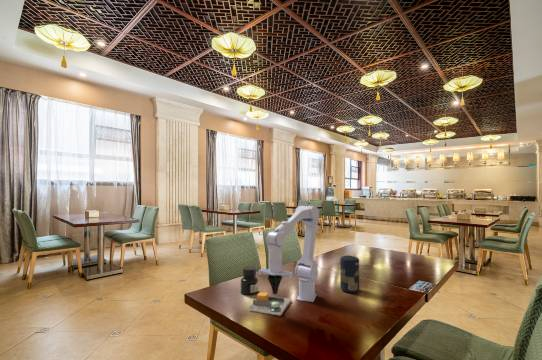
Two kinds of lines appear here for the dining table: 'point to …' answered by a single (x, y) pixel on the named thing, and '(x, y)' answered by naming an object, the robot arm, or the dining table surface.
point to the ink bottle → (249, 281)
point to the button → (275, 304)
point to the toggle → (262, 296)
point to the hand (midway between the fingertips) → (275, 293)
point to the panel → (266, 306)
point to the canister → (349, 273)
